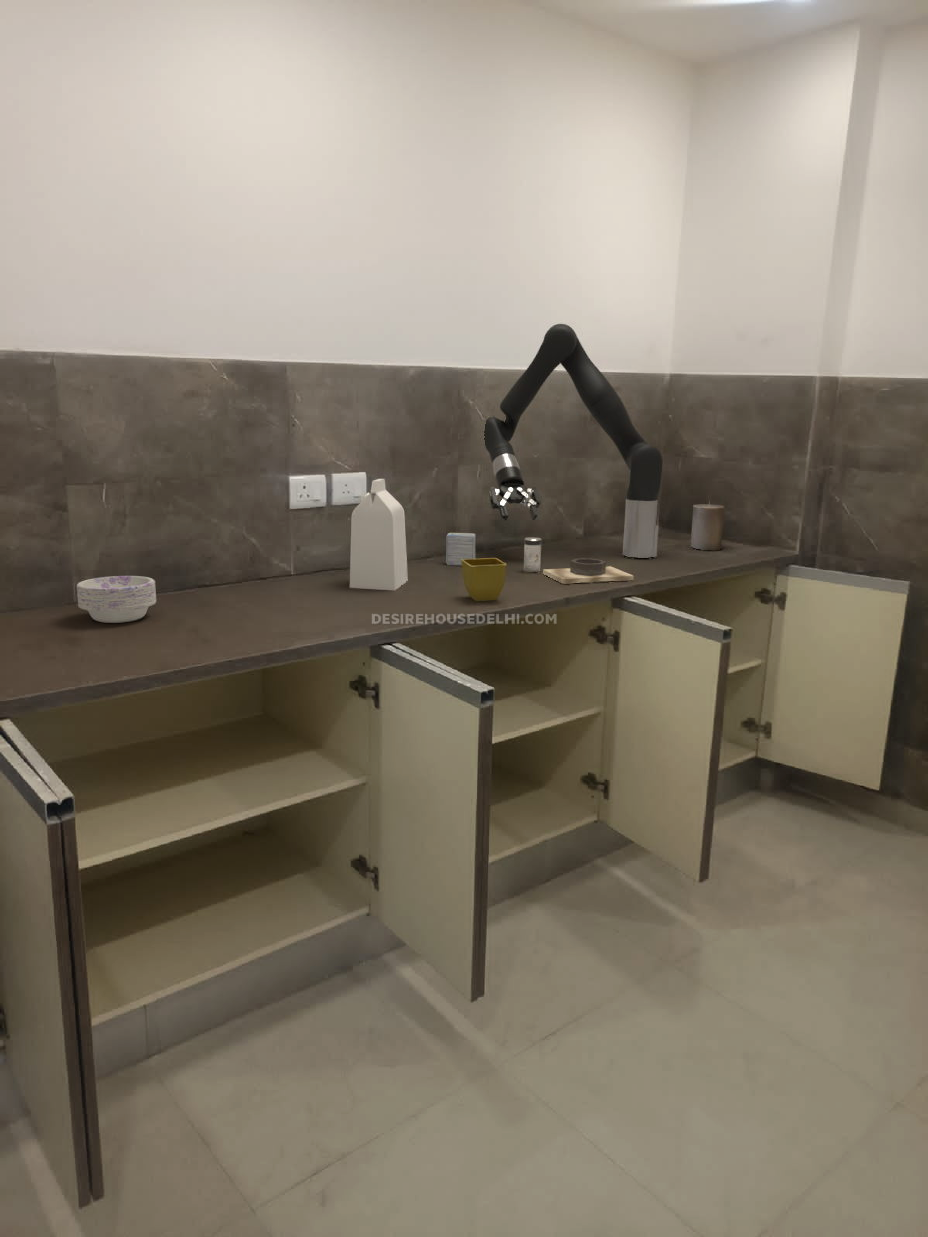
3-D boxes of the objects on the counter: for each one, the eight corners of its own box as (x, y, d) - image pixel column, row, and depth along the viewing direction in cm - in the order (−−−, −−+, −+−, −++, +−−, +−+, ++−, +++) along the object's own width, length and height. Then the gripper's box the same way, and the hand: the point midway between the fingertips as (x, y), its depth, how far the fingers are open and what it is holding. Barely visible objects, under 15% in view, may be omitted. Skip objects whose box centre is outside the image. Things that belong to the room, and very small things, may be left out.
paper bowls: (132, 606, 195) (129, 570, 193) (171, 617, 185) (169, 580, 183) (65, 618, 183) (61, 581, 181) (103, 631, 174) (100, 592, 172)
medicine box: (475, 563, 251) (475, 533, 249) (473, 566, 247) (474, 535, 245) (447, 562, 252) (448, 532, 250) (445, 565, 247) (446, 534, 245)
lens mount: (610, 571, 242) (611, 555, 241) (633, 581, 230) (634, 564, 229) (542, 574, 236) (543, 558, 235) (562, 584, 224) (563, 567, 223)
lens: (536, 569, 244) (537, 537, 242) (542, 572, 240) (544, 539, 237) (520, 570, 242) (522, 537, 240) (527, 573, 238) (528, 540, 236)
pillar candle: (725, 548, 284) (728, 501, 281) (716, 552, 276) (719, 504, 272) (695, 545, 289) (698, 499, 286) (685, 549, 281) (689, 502, 278)
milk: (394, 590, 215) (394, 483, 208) (349, 587, 217) (348, 481, 210) (407, 580, 226) (407, 478, 220) (364, 578, 228) (363, 476, 222)
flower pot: (469, 604, 202) (470, 565, 200) (459, 595, 210) (460, 558, 208) (506, 602, 204) (507, 564, 202) (495, 594, 212) (496, 557, 210)
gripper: (487, 465, 249) (500, 510, 241) (534, 464, 253) (548, 509, 246) (481, 482, 255) (493, 527, 248) (527, 481, 260) (540, 526, 252)
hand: (520, 518), depth 247 cm, fingers open, 8 cm apart
